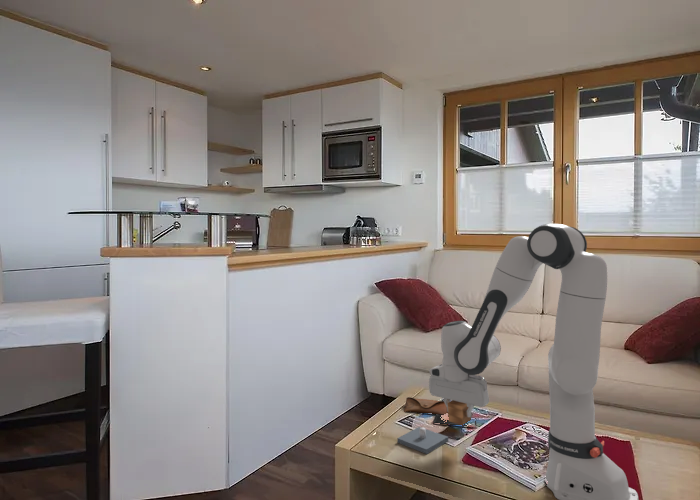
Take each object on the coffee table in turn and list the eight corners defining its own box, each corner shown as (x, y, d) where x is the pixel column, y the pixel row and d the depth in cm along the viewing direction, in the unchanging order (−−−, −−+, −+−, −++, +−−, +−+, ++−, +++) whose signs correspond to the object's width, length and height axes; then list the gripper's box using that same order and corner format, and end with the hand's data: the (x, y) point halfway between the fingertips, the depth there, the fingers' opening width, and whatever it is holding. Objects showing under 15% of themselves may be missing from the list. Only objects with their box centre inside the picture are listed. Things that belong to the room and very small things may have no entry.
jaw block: (470, 419, 152) (469, 401, 152) (462, 425, 148) (461, 406, 148) (457, 416, 155) (456, 398, 155) (448, 421, 152) (447, 402, 152)
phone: (436, 413, 179) (476, 417, 174) (436, 416, 179) (477, 420, 174) (432, 422, 172) (475, 426, 167) (432, 425, 172) (475, 429, 167)
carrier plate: (448, 441, 158) (448, 428, 158) (426, 454, 149) (426, 440, 149) (419, 430, 166) (419, 418, 166) (397, 442, 158) (397, 429, 158)
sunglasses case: (401, 412, 183) (403, 394, 186) (405, 415, 189) (406, 398, 192) (448, 417, 178) (449, 398, 181) (450, 420, 183) (451, 402, 186)
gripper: (491, 374, 146) (493, 418, 147) (436, 364, 161) (438, 404, 161) (480, 379, 142) (483, 425, 142) (425, 369, 156) (427, 410, 157)
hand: (459, 414), depth 152 cm, fingers closed on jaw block, 5 cm apart
